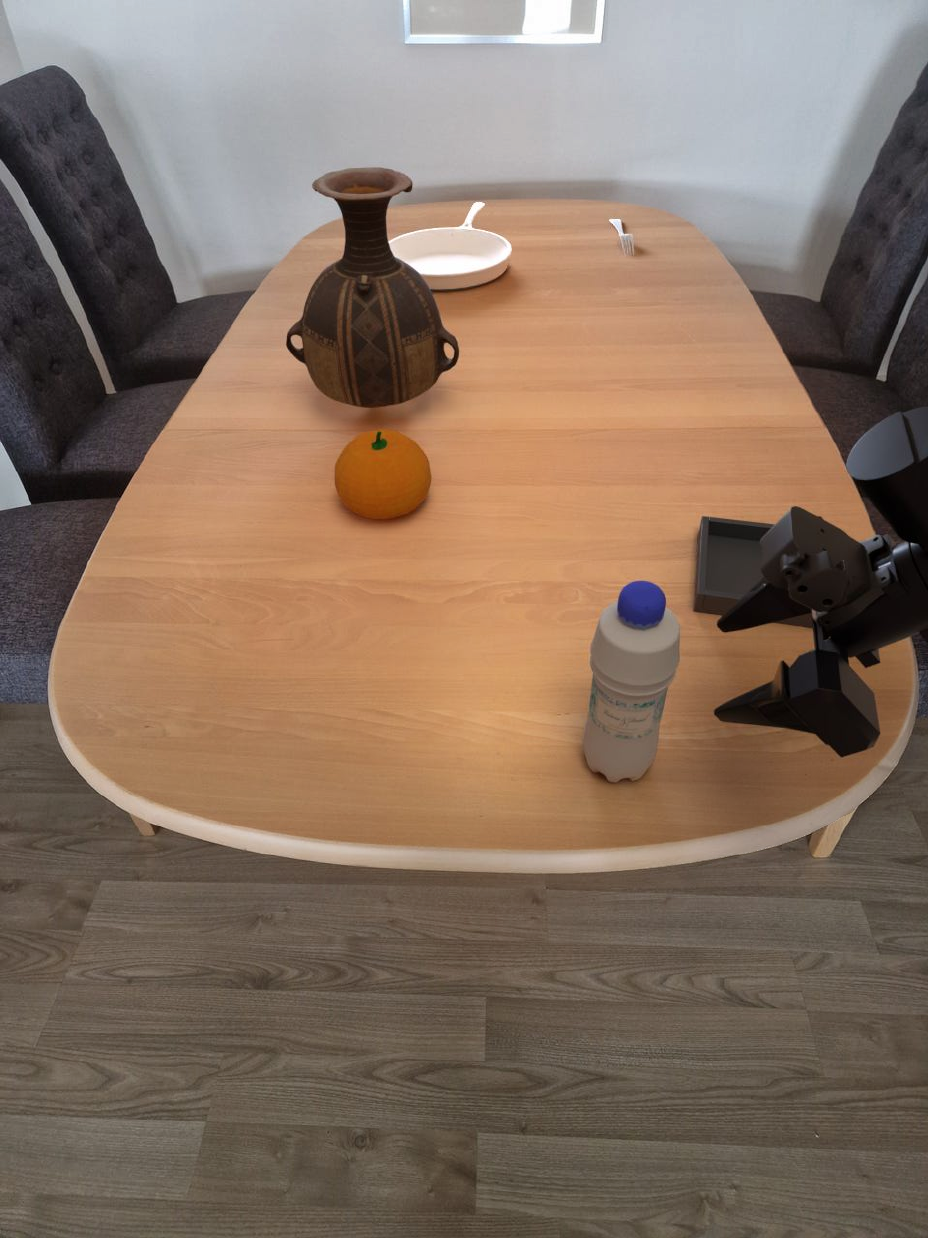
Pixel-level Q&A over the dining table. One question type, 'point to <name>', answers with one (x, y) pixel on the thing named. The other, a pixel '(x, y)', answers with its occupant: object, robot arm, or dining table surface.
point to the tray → (730, 565)
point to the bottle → (630, 681)
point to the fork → (618, 226)
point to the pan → (454, 254)
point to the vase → (370, 305)
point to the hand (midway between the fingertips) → (718, 669)
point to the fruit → (382, 474)
